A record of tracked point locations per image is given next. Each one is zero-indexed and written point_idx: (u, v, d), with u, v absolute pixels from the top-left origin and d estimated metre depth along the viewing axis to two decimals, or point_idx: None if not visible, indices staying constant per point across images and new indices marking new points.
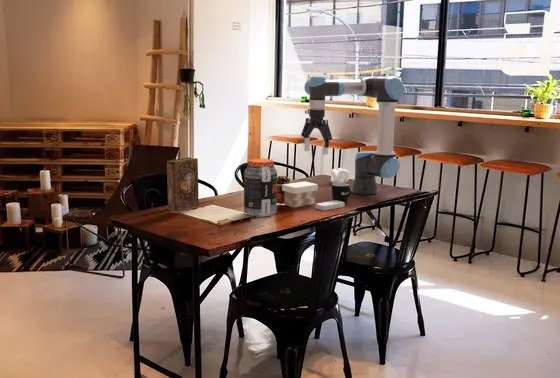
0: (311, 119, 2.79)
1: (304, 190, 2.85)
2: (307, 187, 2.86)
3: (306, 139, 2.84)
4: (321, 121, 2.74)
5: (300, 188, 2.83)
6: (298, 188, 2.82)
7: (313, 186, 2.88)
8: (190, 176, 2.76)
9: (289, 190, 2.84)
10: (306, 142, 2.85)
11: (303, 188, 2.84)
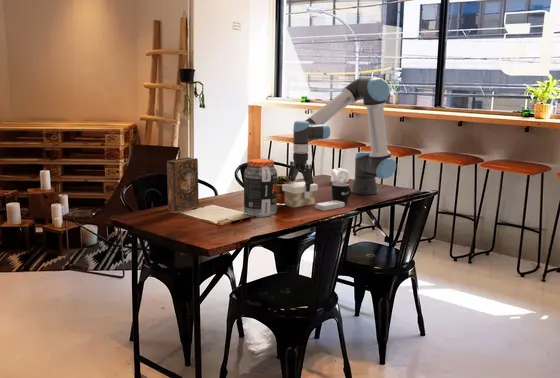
0: (295, 161, 2.88)
1: None
2: None
3: None
4: (304, 165, 2.83)
5: (300, 188, 2.83)
6: (298, 188, 2.82)
7: (313, 186, 2.88)
8: (190, 176, 2.76)
9: (289, 190, 2.84)
10: None
11: (303, 188, 2.84)
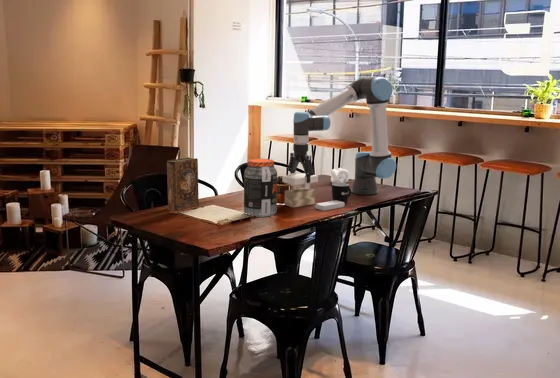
0: (295, 153, 2.87)
1: (304, 181, 2.84)
2: None
3: (292, 174, 2.92)
4: (305, 156, 2.82)
5: (300, 179, 2.82)
6: (298, 179, 2.81)
7: (313, 177, 2.87)
8: (190, 176, 2.76)
9: (289, 181, 2.83)
10: None
11: (303, 179, 2.83)
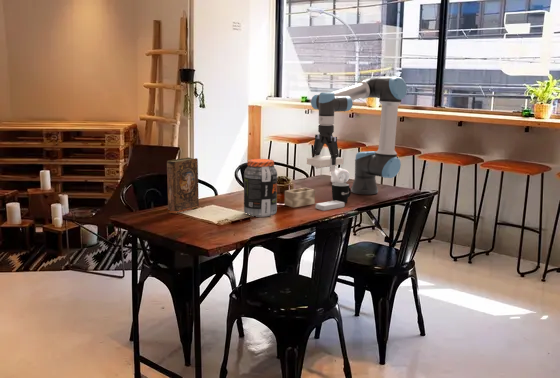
0: (320, 134, 2.81)
1: (329, 163, 2.77)
2: None
3: (317, 156, 2.85)
4: (330, 137, 2.76)
5: (325, 161, 2.75)
6: (323, 161, 2.75)
7: (339, 160, 2.80)
8: (190, 176, 2.76)
9: (314, 163, 2.77)
10: None
11: (328, 161, 2.77)
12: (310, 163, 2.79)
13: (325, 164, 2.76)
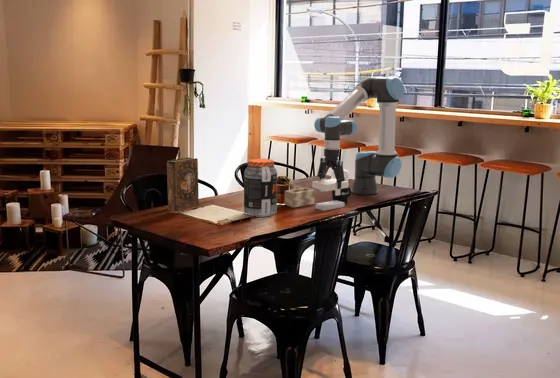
0: (326, 158, 2.82)
1: None
2: None
3: None
4: (336, 161, 2.77)
5: (331, 185, 2.76)
6: (329, 185, 2.76)
7: (344, 183, 2.81)
8: (190, 176, 2.76)
9: (320, 187, 2.78)
10: None
11: (334, 185, 2.78)
12: (315, 187, 2.80)
13: (331, 188, 2.76)
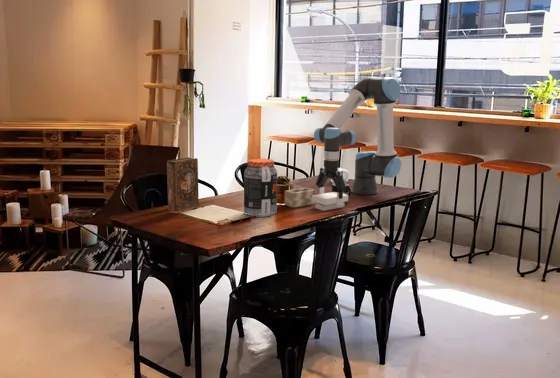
0: (325, 169, 2.83)
1: (335, 201, 2.80)
2: None
3: (321, 189, 2.88)
4: (336, 172, 2.78)
5: (331, 199, 2.78)
6: (329, 199, 2.77)
7: (344, 197, 2.83)
8: (190, 176, 2.76)
9: (320, 201, 2.79)
10: (321, 191, 2.88)
11: (334, 199, 2.79)
12: (315, 200, 2.82)
13: (331, 202, 2.78)
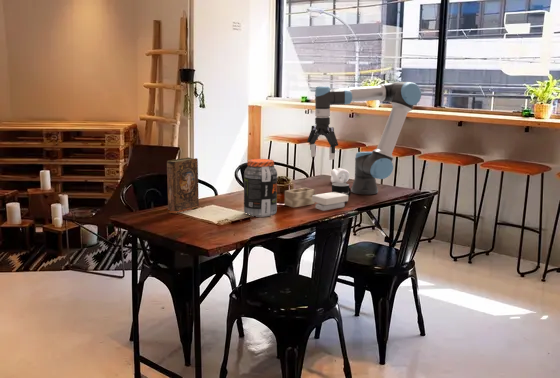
0: (317, 126, 2.96)
1: (335, 201, 2.80)
2: (338, 198, 2.81)
3: (312, 145, 3.01)
4: (327, 128, 2.91)
5: (331, 199, 2.78)
6: (329, 199, 2.77)
7: (344, 197, 2.83)
8: (190, 176, 2.76)
9: (320, 201, 2.79)
10: (312, 148, 3.02)
11: (334, 199, 2.79)
12: (315, 200, 2.82)
13: (331, 202, 2.78)
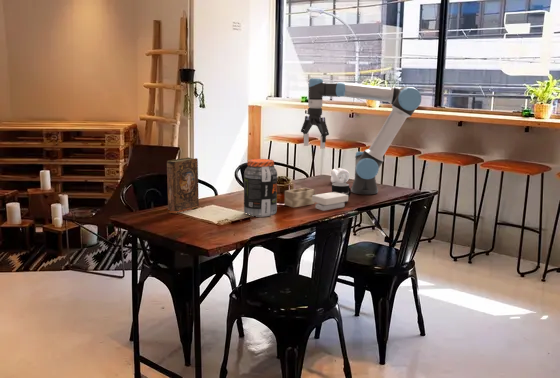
0: (310, 117, 3.09)
1: (335, 201, 2.80)
2: (338, 198, 2.81)
3: (305, 135, 3.14)
4: (319, 118, 3.04)
5: (331, 199, 2.78)
6: (329, 199, 2.77)
7: (344, 197, 2.83)
8: (190, 176, 2.76)
9: (320, 201, 2.79)
10: (305, 137, 3.14)
11: (334, 199, 2.79)
12: (315, 200, 2.82)
13: (331, 202, 2.78)
